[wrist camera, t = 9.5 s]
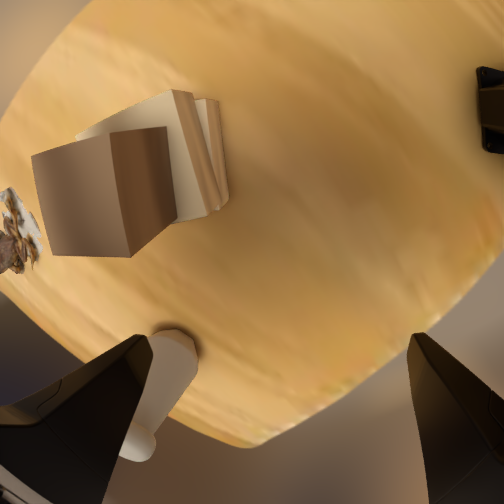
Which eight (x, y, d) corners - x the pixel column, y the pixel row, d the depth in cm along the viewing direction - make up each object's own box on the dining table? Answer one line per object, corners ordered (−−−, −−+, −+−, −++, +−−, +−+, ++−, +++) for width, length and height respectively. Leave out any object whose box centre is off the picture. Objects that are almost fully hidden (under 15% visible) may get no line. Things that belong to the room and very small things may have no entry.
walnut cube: (166, 126, 14) (109, 133, 9) (177, 218, 16) (130, 257, 11) (93, 141, 15) (30, 156, 10) (106, 221, 17) (52, 255, 12)
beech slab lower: (219, 101, 18) (205, 98, 16) (230, 197, 21) (219, 210, 19) (131, 119, 20) (109, 121, 17) (146, 205, 23) (126, 217, 20)
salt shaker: (141, 322, 28) (73, 422, 16) (190, 317, 26) (127, 436, 15) (166, 365, 30) (115, 462, 18) (213, 363, 28) (170, 476, 17)
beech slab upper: (192, 92, 16) (171, 89, 13) (222, 200, 18) (207, 216, 16) (102, 130, 17) (75, 135, 15) (132, 222, 20) (109, 239, 17)
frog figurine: (35, 297, 31) (17, 312, 28) (-12, 229, 28) (-31, 241, 25) (63, 250, 26) (39, 267, 23) (8, 171, 24) (-17, 180, 20)
